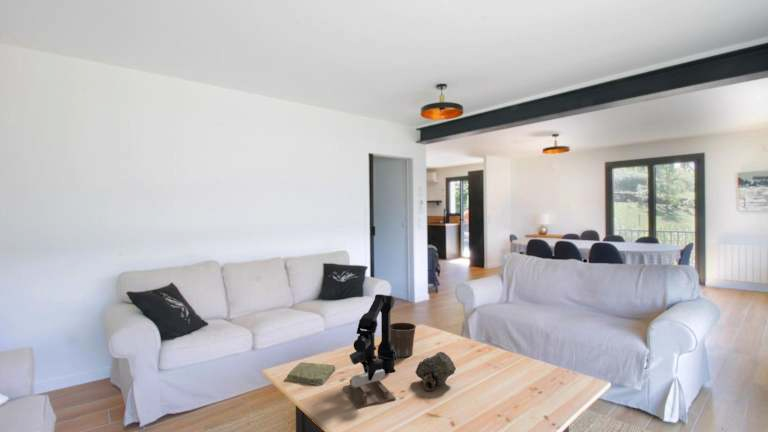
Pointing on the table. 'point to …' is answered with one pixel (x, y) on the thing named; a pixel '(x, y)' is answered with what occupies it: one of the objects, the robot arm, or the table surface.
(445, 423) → the table surface
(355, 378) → the light gray rectangular bar
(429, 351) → the table surface
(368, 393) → the walnut rack
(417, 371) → the rock
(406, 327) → the plant pot
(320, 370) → the decorative tile
